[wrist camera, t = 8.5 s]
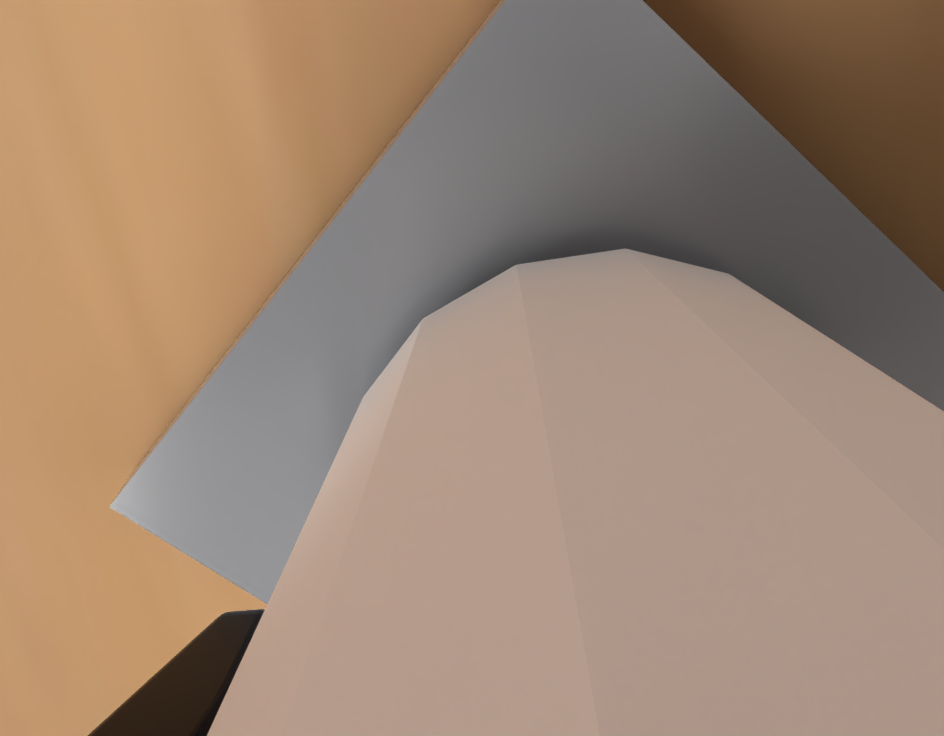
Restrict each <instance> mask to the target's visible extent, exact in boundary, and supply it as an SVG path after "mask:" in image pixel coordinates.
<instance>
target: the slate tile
mask: <svg viewBox="0 0 944 736" xmlns="http://www.w3.org/2000/svg"><path fill="white" fill-rule="evenodd" d="M625 248H626V249H630V250H634V251H638V252H642V253H646V254H650V255H654V256H658V257H662V258H667V259H671V260H675V261H679V262H683V263H687V264H691V265H695V266H699V267H703V268H707V269H712V270H716V271H720V272H724V273H728V274H730V275H732V276H733V277H735V278H736V279H738V280H739V281H741V282H743V283H744V284H746V285H747V286H749V287H750V288H752V289H754V290H755V291H757V292H758V293H760V294H761V295H763V296H764V297H766V298H768V299H769V300H771V301H772V302H774V303H775V304H777V305H779V306H780V307H782V308H783V309H785V310H786V311H788V312H789V313H791V314H793V315H794V316H796V317H797V318H799V319H800V320H802V321H803V322H805V323H807V324H808V325H810V326H811V327H813V328H814V329H816V330H818V331H819V332H821V333H822V334H824V335H825V336H827V337H828V338H830V339H832V340H833V341H835V342H836V343H838V344H839V345H841V346H843V347H844V348H846V349H847V350H849V351H850V352H852V353H853V354H855V355H857V356H858V357H860V358H861V359H863V360H864V361H866V362H867V363H869V364H871V365H872V366H874V367H875V368H877V369H878V370H880V371H882V372H883V373H885V374H886V375H888V376H889V377H891V378H892V379H894V380H896V381H897V382H899V383H900V384H902V385H903V386H905V387H906V388H908V389H910V390H911V391H913V392H914V393H916V394H917V395H919V396H921V397H922V398H924V399H925V400H927V401H928V402H930V403H931V404H933V405H935V406H936V407H938V408H939V409H941V410H942V411H944V292H943V291H942V290H941V289H940V288H939V287H938V286H937V285H936V284H935V283H934V282H933V281H932V280H931V279H930V278H929V277H928V276H927V275H926V274H925V273H924V272H923V271H922V270H921V269H920V268H918V267H917V266H916V265H915V264H914V263H913V262H912V261H911V260H910V259H909V258H908V257H907V256H906V255H905V254H904V253H903V252H902V251H901V250H900V249H899V248H898V247H897V246H896V245H895V244H894V243H893V242H892V241H891V240H890V239H889V238H888V237H886V236H885V235H884V234H883V233H882V232H881V231H880V230H879V229H878V228H877V227H876V226H875V225H874V224H873V223H872V222H871V221H870V220H869V219H868V218H867V217H866V216H865V215H864V214H863V213H862V212H861V211H860V210H859V209H858V208H857V207H856V206H854V205H853V204H852V203H851V202H850V201H849V200H848V199H847V198H846V197H845V196H844V195H843V194H842V193H841V192H840V191H839V190H838V189H837V188H836V187H835V186H834V185H833V184H832V183H831V182H830V181H829V180H828V179H827V178H826V177H825V176H824V175H822V174H821V173H820V172H819V171H818V170H817V169H816V168H815V167H814V166H813V165H812V164H811V163H810V162H809V161H808V160H807V159H806V158H805V157H804V156H803V155H802V154H801V153H800V152H799V151H798V150H797V149H796V148H795V147H794V146H793V145H792V144H790V143H789V142H788V141H787V140H786V139H785V138H784V137H783V136H782V135H781V134H780V133H779V132H778V131H777V130H776V129H775V128H774V127H773V126H772V125H771V124H770V123H769V122H768V121H767V120H766V119H765V118H764V117H763V116H762V115H761V114H760V113H758V112H757V111H756V110H755V109H754V108H753V107H752V106H751V105H750V104H749V103H748V102H747V101H746V100H745V99H744V98H743V97H742V96H741V95H740V94H739V93H738V92H737V91H736V90H735V89H734V88H733V87H732V86H731V85H730V84H729V83H727V82H726V81H725V80H724V79H723V78H722V77H721V76H720V75H719V74H718V73H717V72H716V71H715V70H714V69H713V68H712V67H711V66H710V65H709V64H708V63H707V62H706V61H705V60H704V59H703V58H702V57H701V56H700V55H699V54H698V53H697V52H695V51H694V50H693V49H692V48H691V47H690V46H689V45H688V44H687V43H686V42H685V41H684V40H683V39H682V38H681V37H680V36H679V35H678V34H677V33H676V32H675V31H674V30H673V29H672V28H671V27H670V26H669V25H668V24H667V23H666V22H665V21H663V20H662V19H661V18H660V17H659V16H658V15H657V14H656V13H655V12H654V11H653V10H652V9H651V8H650V7H649V6H648V5H647V4H646V3H645V2H644V1H643V0H500V2H499V3H498V4H497V5H496V7H495V8H494V9H493V11H492V12H491V13H490V14H489V16H488V17H487V18H486V20H485V21H484V22H483V23H482V25H481V26H480V27H479V29H478V30H477V31H476V32H475V34H474V35H473V36H472V37H471V39H470V40H469V41H468V43H467V44H466V45H465V46H464V48H463V49H462V50H461V52H460V53H459V54H458V55H457V57H456V58H455V59H454V61H453V62H452V63H451V64H450V66H449V67H448V68H447V70H446V71H445V72H444V73H443V75H442V76H441V77H440V79H439V80H438V81H437V82H436V84H435V85H434V86H433V87H432V89H431V90H430V91H429V93H428V94H427V95H426V96H425V98H424V99H423V100H422V102H421V103H420V104H419V105H418V107H417V108H416V109H415V111H414V112H413V113H412V114H411V116H410V117H409V118H408V120H407V121H406V122H405V123H404V125H403V126H402V127H401V129H400V130H399V131H398V132H397V134H396V135H395V136H394V137H393V139H392V140H391V141H390V143H389V144H388V145H387V146H386V148H385V149H384V150H383V152H382V153H381V154H380V155H379V157H378V158H377V159H376V161H375V162H374V163H373V164H372V166H371V167H370V168H369V170H368V171H367V172H366V173H365V175H364V176H363V177H362V179H361V180H360V181H359V182H358V184H357V185H356V186H355V187H354V189H353V190H352V191H351V193H350V194H349V195H348V196H347V198H346V199H345V200H344V202H343V203H342V204H341V205H340V207H339V208H338V209H337V211H336V212H335V213H334V214H333V216H332V217H331V218H330V220H329V221H328V222H327V223H326V225H325V226H324V227H323V229H322V230H321V231H320V232H319V234H318V235H317V236H316V237H315V239H314V240H313V241H312V243H311V244H310V245H309V246H308V248H307V249H306V250H305V252H304V253H303V254H302V255H301V257H300V258H299V259H298V261H297V262H296V263H295V264H294V266H293V267H292V268H291V270H290V271H289V272H288V273H287V275H286V276H285V277H284V279H283V280H282V281H281V282H280V284H279V285H278V286H277V287H276V289H275V290H274V291H273V293H272V294H271V295H270V296H269V298H268V299H267V300H266V302H265V303H264V304H263V305H262V307H261V308H260V309H259V311H258V312H257V313H256V314H255V316H254V317H253V318H252V320H251V321H250V322H249V323H248V325H247V326H246V327H245V329H244V330H243V331H242V332H241V334H240V335H239V336H238V337H237V339H236V340H235V341H234V343H233V344H232V345H231V346H230V348H229V349H228V350H227V352H226V353H225V354H224V355H223V357H222V358H221V359H220V361H219V362H218V363H217V364H216V366H215V367H214V368H213V370H212V371H211V372H210V373H209V375H208V376H207V377H206V379H205V380H204V381H203V382H202V384H201V385H200V386H199V387H198V389H197V390H196V391H195V393H194V394H193V395H192V396H191V398H190V399H189V400H188V402H187V403H186V404H185V405H184V407H183V408H182V409H181V411H180V412H179V413H178V414H177V416H176V417H175V418H174V420H173V421H172V422H171V423H170V425H169V426H168V427H167V429H166V430H165V431H164V432H163V434H162V435H161V436H160V437H159V439H158V440H157V441H156V443H155V444H154V445H153V446H152V448H151V449H150V450H149V452H148V453H147V454H146V455H145V457H144V458H143V459H142V461H141V462H140V463H139V464H138V466H137V467H136V468H135V470H134V471H133V472H132V474H131V475H130V476H129V478H128V479H127V481H126V482H125V484H124V485H123V487H122V488H121V490H120V491H119V493H118V494H117V496H116V497H115V499H114V500H113V502H112V503H111V505H110V506H109V507H110V508H112V509H114V510H115V511H117V512H118V513H120V514H122V515H123V516H125V517H126V518H128V519H130V520H131V521H133V522H135V523H136V524H138V525H139V526H141V527H143V528H144V529H146V530H148V531H149V532H151V533H152V534H154V535H156V536H157V537H159V538H161V539H162V540H164V541H165V542H167V543H169V544H170V545H172V546H174V547H175V548H177V549H178V550H180V551H182V552H183V553H185V554H187V555H188V556H190V557H191V558H193V559H195V560H196V561H198V562H200V563H201V564H203V565H204V566H206V567H208V568H209V569H211V570H213V571H214V572H216V573H217V574H219V575H221V576H222V577H224V578H226V579H227V580H229V581H230V582H232V583H234V584H235V585H237V586H238V587H240V588H242V589H243V590H245V591H247V592H248V593H250V594H251V595H253V596H255V597H256V598H258V599H260V600H261V601H263V602H264V603H266V604H268V602H269V600H270V598H271V595H272V593H273V591H274V589H275V587H276V585H277V582H278V580H279V578H280V576H281V574H282V572H283V569H284V567H285V565H286V563H287V561H288V559H289V556H290V554H291V552H292V550H293V548H294V546H295V543H296V541H297V539H298V537H299V535H300V533H301V530H302V528H303V526H304V524H305V522H306V520H307V517H308V515H309V513H310V511H311V509H312V507H313V504H314V502H315V500H316V498H317V496H318V494H319V491H320V489H321V487H322V485H323V483H324V481H325V479H326V476H327V474H328V472H329V470H330V468H331V466H332V463H333V461H334V459H335V457H336V455H337V453H338V450H339V448H340V446H341V444H342V442H343V440H344V437H345V435H346V433H347V431H348V429H349V427H350V424H351V422H352V420H353V418H354V416H355V414H356V411H357V409H358V407H359V405H360V403H361V401H362V398H363V397H364V395H365V394H366V393H367V391H368V390H369V389H370V387H371V386H372V385H373V383H374V382H375V381H376V379H377V378H378V377H379V376H380V374H381V373H382V372H383V370H384V369H385V368H386V366H387V365H388V364H389V362H390V361H391V360H392V358H393V357H394V356H395V355H396V353H397V352H398V351H399V349H400V348H401V347H402V345H403V344H404V343H405V341H406V340H407V339H408V337H409V336H410V335H411V334H412V332H413V331H414V330H415V328H416V327H417V326H418V324H419V323H420V322H421V320H422V319H423V318H425V317H426V316H428V315H430V314H431V313H433V312H435V311H437V310H438V309H440V308H442V307H444V306H445V305H447V304H449V303H451V302H452V301H454V300H456V299H457V298H459V297H461V296H463V295H464V294H466V293H468V292H470V291H471V290H473V289H475V288H477V287H478V286H480V285H482V284H483V283H485V282H487V281H489V280H490V279H492V278H494V277H496V276H497V275H499V274H501V273H502V272H504V271H506V270H508V269H509V268H511V267H513V266H515V265H517V264H524V263H531V262H537V261H544V260H551V259H558V258H564V257H571V256H578V255H585V254H592V253H598V252H605V251H612V250H619V249H625Z"/></svg>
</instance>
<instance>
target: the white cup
mask: <svg viewBox="0 0 944 736" xmlns="http://www.w3.org/2000/svg"><path fill="white" fill-rule="evenodd" d="M207 736H944V411H942V410H941V409H939V408H938V407H936V406H935V405H933V404H931V403H930V402H928V401H927V400H925V399H924V398H922V397H921V396H919V395H917V394H916V393H914V392H913V391H911V390H910V389H908V388H906V387H905V386H903V385H902V384H900V383H899V382H897V381H896V380H894V379H892V378H891V377H889V376H888V375H886V374H885V373H883V372H882V371H880V370H878V369H877V368H875V367H874V366H872V365H871V364H869V363H867V362H866V361H864V360H863V359H861V358H860V357H858V356H857V355H855V354H853V353H852V352H850V351H849V350H847V349H846V348H844V347H843V346H841V345H839V344H838V343H836V342H835V341H833V340H832V339H830V338H828V337H827V336H825V335H824V334H822V333H821V332H819V331H818V330H816V329H814V328H813V327H811V326H810V325H808V324H807V323H805V322H803V321H802V320H800V319H799V318H797V317H796V316H794V315H793V314H791V313H789V312H788V311H786V310H785V309H783V308H782V307H780V306H779V305H777V304H775V303H774V302H772V301H771V300H769V299H768V298H766V297H764V296H763V295H761V294H760V293H758V292H757V291H755V290H754V289H752V288H750V287H749V286H747V285H746V284H744V283H743V282H741V281H739V280H738V279H736V278H735V277H733V276H732V275H730V274H728V273H724V272H720V271H716V270H712V269H707V268H703V267H699V266H695V265H691V264H687V263H683V262H679V261H675V260H671V259H667V258H662V257H658V256H654V255H650V254H646V253H642V252H638V251H634V250H630V249H626V248H625V249H619V250H612V251H605V252H598V253H592V254H585V255H578V256H571V257H564V258H558V259H551V260H544V261H537V262H531V263H524V264H517V265H515V266H513V267H511V268H509V269H508V270H506V271H504V272H502V273H501V274H499V275H497V276H496V277H494V278H492V279H490V280H489V281H487V282H485V283H483V284H482V285H480V286H478V287H477V288H475V289H473V290H471V291H470V292H468V293H466V294H464V295H463V296H461V297H459V298H457V299H456V300H454V301H452V302H451V303H449V304H447V305H445V306H444V307H442V308H440V309H438V310H437V311H435V312H433V313H431V314H430V315H428V316H426V317H425V318H423V319H422V320H421V322H420V323H419V324H418V326H417V327H416V328H415V330H414V331H413V332H412V334H411V335H410V336H409V337H408V339H407V340H406V341H405V343H404V344H403V345H402V347H401V348H400V349H399V351H398V352H397V353H396V355H395V356H394V357H393V358H392V360H391V361H390V362H389V364H388V365H387V366H386V368H385V369H384V370H383V372H382V373H381V374H380V376H379V377H378V378H377V379H376V381H375V382H374V383H373V385H372V386H371V387H370V389H369V390H368V391H367V393H366V394H365V395H364V397H363V398H362V401H361V403H360V405H359V407H358V409H357V411H356V414H355V416H354V418H353V420H352V422H351V424H350V427H349V429H348V431H347V433H346V435H345V437H344V440H343V442H342V444H341V446H340V448H339V450H338V453H337V455H336V457H335V459H334V461H333V463H332V466H331V468H330V470H329V472H328V474H327V476H326V479H325V481H324V483H323V485H322V487H321V489H320V491H319V494H318V496H317V498H316V500H315V502H314V504H313V507H312V509H311V511H310V513H309V515H308V517H307V520H306V522H305V524H304V526H303V528H302V530H301V533H300V535H299V537H298V539H297V541H296V543H295V546H294V548H293V550H292V552H291V554H290V556H289V559H288V561H287V563H286V565H285V567H284V569H283V572H282V574H281V576H280V578H279V580H278V582H277V585H276V587H275V589H274V591H273V593H272V595H271V598H270V600H269V602H268V604H267V606H266V608H265V611H264V613H263V615H262V617H261V619H260V621H259V624H258V626H257V628H256V630H255V632H254V634H253V637H252V639H251V641H250V643H249V645H248V647H247V650H246V652H245V654H244V656H243V658H242V660H241V663H240V665H239V667H238V669H237V671H236V673H235V676H234V678H233V680H232V682H231V684H230V686H229V689H228V691H227V693H226V695H225V697H224V699H223V702H222V704H221V706H220V708H219V710H218V712H217V715H216V717H215V719H214V721H213V723H212V725H211V728H210V730H209V732H208V734H207Z"/></svg>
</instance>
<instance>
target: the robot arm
mask: <svg viewBox="0 0 944 736" xmlns="http://www.w3.org/2000/svg"><path fill="white" fill-rule="evenodd" d="M264 611H265V610H263V609H259V610H247V611H234V612H227V613H224V614H222V615H221V616H219V617H218V618H217V619H215V620H214V621H213V622H212V623H211V624H210V625H209V626H208V627H207V628H206V629H204V630H203V631H202V632H201V633H200V634H199V635H198V636H197V637H196V638H195V639H193V640H192V641H191V642H190V643H189V644H188V645H187V646H186V647H185V648H184V649H182V650H181V651H180V652H179V653H178V654H177V655H176V656H175V657H174V658H173V659H171V660H170V661H169V662H168V663H167V664H166V665H165V666H164V667H163V668H162V669H160V670H159V671H158V672H157V673H156V674H155V675H154V676H153V677H152V678H151V679H149V680H148V681H147V682H146V683H145V684H144V685H143V686H142V687H141V688H140V689H138V690H137V691H136V692H135V693H134V694H133V695H132V696H131V697H130V698H129V699H127V700H126V701H125V702H124V703H123V704H122V705H121V706H120V707H119V708H118V709H116V710H115V711H114V712H113V713H112V714H111V715H110V716H109V717H108V718H107V719H105V720H104V721H103V722H102V723H101V724H100V725H99V726H98V727H97V728H96V729H94V730H93V731H92V732H91V733H90V734H89V735H88V736H207V734H208V732H209V730H210V728H211V725H212V723H213V721H214V719H215V717H216V715H217V712H218V710H219V708H220V706H221V704H222V702H223V699H224V697H225V695H226V693H227V691H228V689H229V686H230V684H231V682H232V680H233V678H234V676H235V673H236V671H237V669H238V667H239V665H240V663H241V660H242V658H243V656H244V654H245V652H246V650H247V647H248V645H249V643H250V641H251V639H252V637H253V634H254V632H255V630H256V628H257V626H258V624H259V621H260V619H261V617H262V615H263V613H264Z"/></svg>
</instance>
